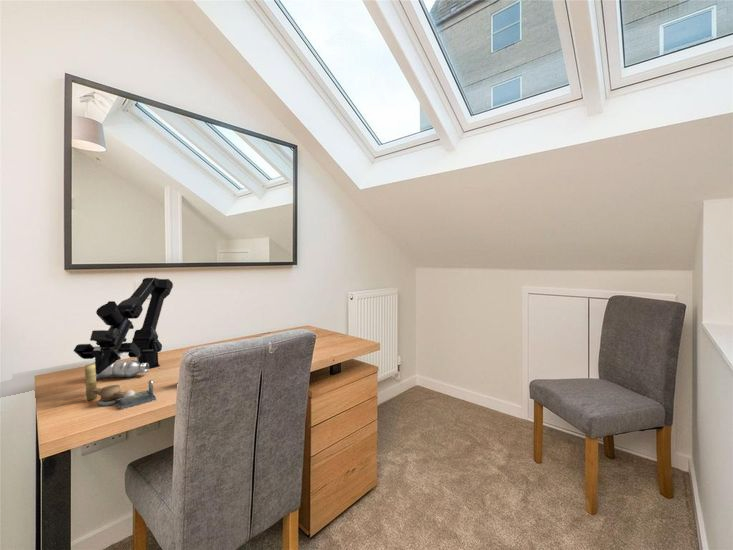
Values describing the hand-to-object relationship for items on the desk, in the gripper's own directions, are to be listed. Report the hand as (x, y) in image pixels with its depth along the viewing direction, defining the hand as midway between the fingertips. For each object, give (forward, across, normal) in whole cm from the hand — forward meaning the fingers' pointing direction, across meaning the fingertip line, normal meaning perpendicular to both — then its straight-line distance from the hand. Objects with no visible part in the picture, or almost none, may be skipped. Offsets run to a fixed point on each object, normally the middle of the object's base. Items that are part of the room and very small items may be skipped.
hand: (96, 373), depth 111 cm
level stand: (+9, +12, +2) cm, 15 cm away
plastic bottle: (-9, -15, +15) cm, 22 cm away
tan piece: (+9, +8, +1) cm, 12 cm away
